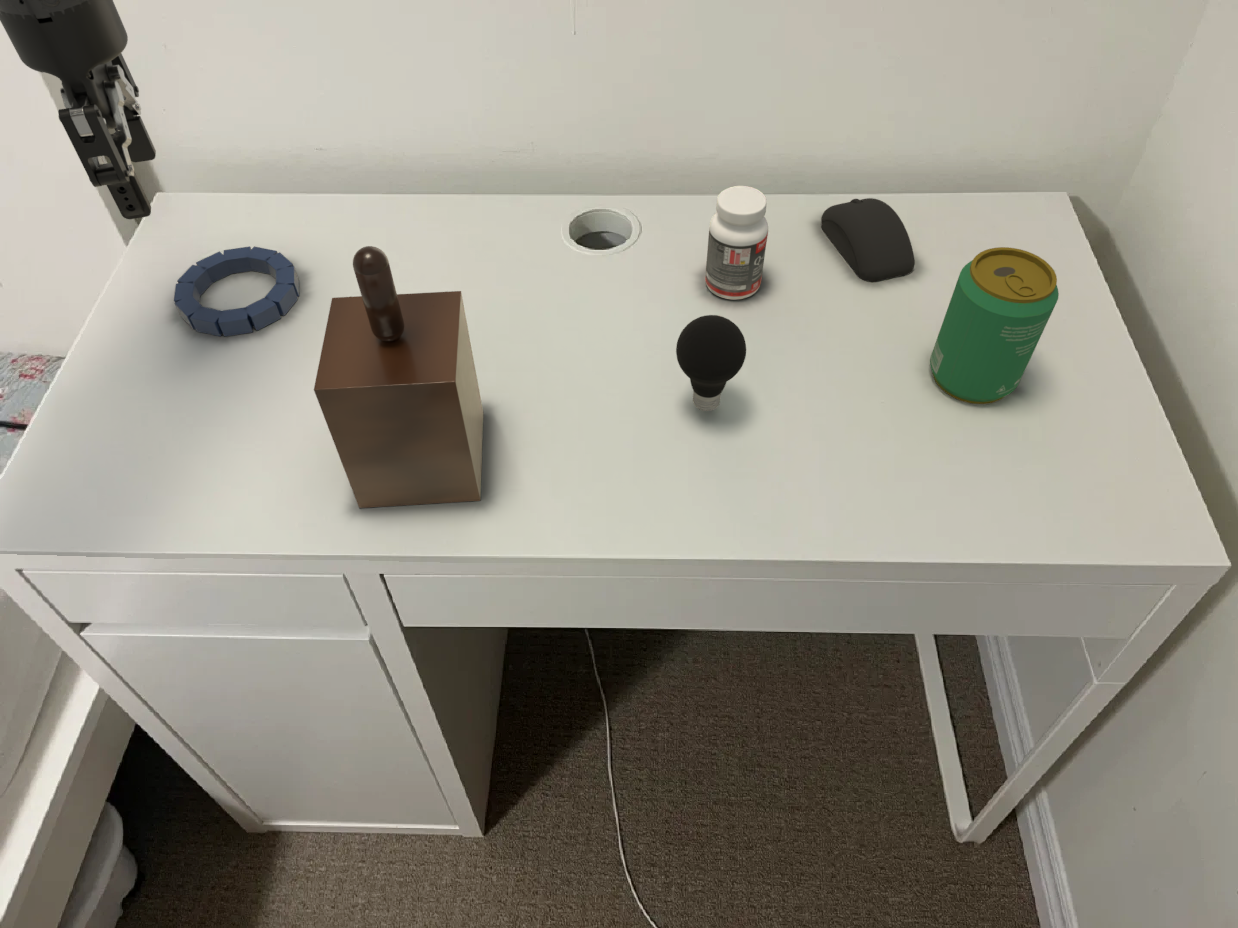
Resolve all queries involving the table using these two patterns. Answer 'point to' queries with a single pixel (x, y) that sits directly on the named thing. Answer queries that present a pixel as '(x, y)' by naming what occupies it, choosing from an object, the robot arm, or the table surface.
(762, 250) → the pill bottle
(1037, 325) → the beverage can
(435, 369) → the stand
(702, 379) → the light bulb
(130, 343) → the table surface
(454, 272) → the table surface
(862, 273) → the computer mouse
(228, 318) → the ring
